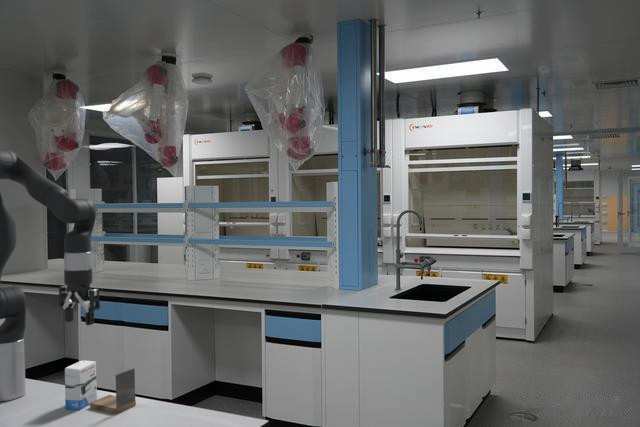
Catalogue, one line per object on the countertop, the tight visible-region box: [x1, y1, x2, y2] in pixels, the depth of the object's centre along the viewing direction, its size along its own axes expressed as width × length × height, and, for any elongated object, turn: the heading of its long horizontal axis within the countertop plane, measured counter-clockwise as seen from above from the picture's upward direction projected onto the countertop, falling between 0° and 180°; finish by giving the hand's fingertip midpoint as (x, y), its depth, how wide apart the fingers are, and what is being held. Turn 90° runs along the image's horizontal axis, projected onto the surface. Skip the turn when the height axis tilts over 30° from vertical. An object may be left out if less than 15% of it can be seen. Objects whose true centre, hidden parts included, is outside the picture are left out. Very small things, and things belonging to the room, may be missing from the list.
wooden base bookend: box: [89, 367, 137, 415], centre depth 160 cm, size 11×7×11 cm, turn 63°
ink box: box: [64, 359, 98, 411], centre depth 162 cm, size 8×5×12 cm, turn 168°
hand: (79, 323), depth 161 cm, fingers open, 8 cm apart
